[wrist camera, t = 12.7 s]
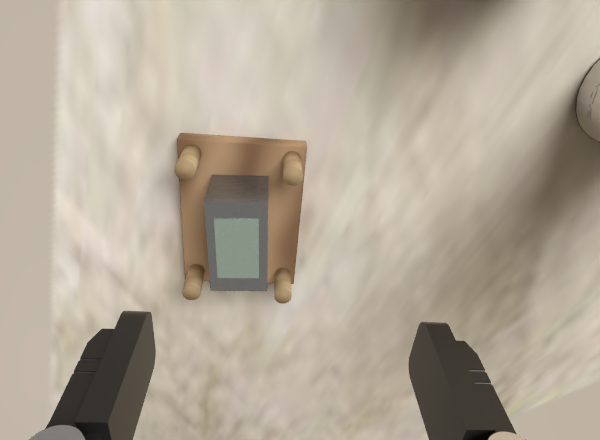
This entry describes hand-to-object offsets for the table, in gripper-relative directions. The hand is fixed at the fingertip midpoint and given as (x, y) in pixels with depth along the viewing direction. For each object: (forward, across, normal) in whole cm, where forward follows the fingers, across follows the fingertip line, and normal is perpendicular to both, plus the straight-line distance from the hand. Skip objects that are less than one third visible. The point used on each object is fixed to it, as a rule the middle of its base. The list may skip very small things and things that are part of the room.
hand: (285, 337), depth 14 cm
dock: (+28, +3, +12) cm, 31 cm away
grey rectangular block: (+27, +3, +12) cm, 29 cm away
